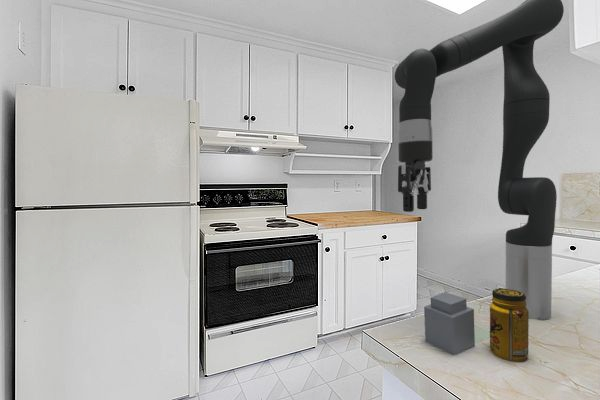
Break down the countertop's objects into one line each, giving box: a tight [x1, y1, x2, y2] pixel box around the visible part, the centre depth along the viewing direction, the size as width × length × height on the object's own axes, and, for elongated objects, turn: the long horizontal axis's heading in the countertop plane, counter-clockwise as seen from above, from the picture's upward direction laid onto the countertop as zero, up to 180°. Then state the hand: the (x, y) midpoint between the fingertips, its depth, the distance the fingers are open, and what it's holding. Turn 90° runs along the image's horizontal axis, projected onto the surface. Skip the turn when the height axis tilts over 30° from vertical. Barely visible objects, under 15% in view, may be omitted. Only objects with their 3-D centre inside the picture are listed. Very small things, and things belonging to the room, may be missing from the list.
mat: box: [474, 324, 490, 344], centre depth 69 cm, size 10×10×1 cm
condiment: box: [489, 287, 552, 364], centre depth 59 cm, size 7×8×12 cm
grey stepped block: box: [423, 291, 476, 356], centre depth 63 cm, size 6×6×10 cm
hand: (415, 210), depth 75 cm, fingers open, 8 cm apart
